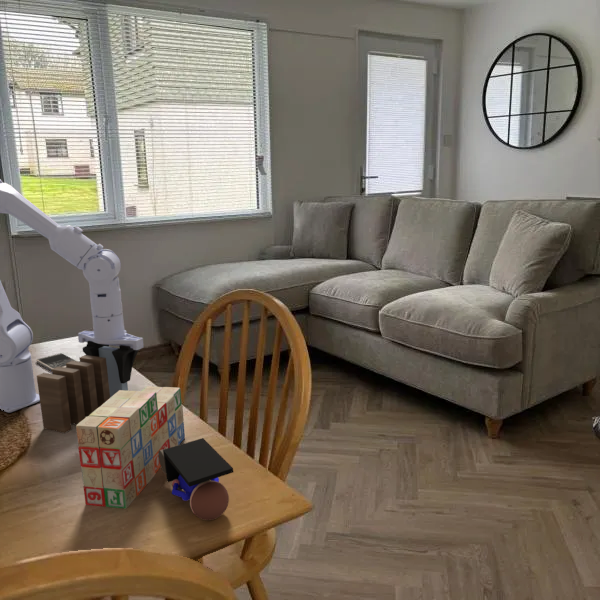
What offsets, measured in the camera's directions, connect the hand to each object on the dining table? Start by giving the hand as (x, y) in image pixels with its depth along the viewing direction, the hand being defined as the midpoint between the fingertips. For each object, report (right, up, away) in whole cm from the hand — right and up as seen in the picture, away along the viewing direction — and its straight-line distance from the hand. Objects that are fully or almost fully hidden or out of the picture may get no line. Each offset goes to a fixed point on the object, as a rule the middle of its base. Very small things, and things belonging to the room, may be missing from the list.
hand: (114, 379), depth 118 cm
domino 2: (-5, -6, -10) cm, 12 cm away
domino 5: (0, -3, +1) cm, 3 cm away
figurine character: (+22, -12, -35) cm, 43 cm away
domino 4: (-2, -5, -3) cm, 6 cm away
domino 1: (-6, -7, -13) cm, 16 cm away
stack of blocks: (+12, -10, -26) cm, 31 cm away
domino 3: (-3, -6, -7) cm, 9 cm away
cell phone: (-20, 0, +21) cm, 29 cm away
